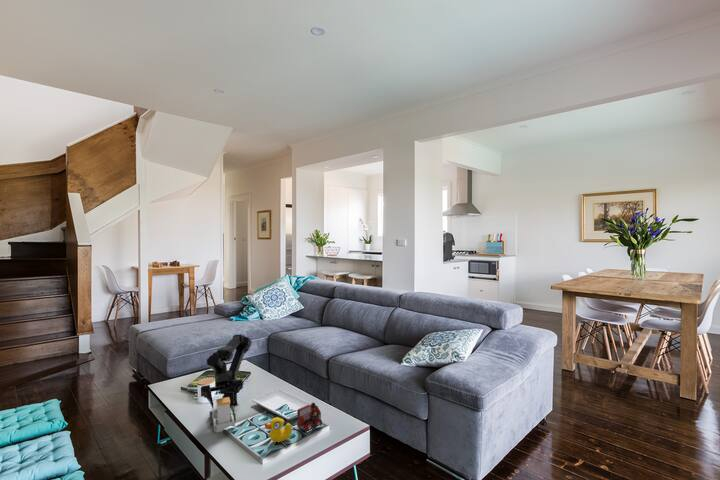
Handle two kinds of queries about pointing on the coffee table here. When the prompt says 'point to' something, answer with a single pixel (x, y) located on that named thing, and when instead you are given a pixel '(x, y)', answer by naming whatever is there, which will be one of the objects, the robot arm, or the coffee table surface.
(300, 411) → the toy fire truck
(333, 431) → the coffee table surface
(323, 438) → the coffee table surface
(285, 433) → the duckling
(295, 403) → the tray
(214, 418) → the small digital clock
